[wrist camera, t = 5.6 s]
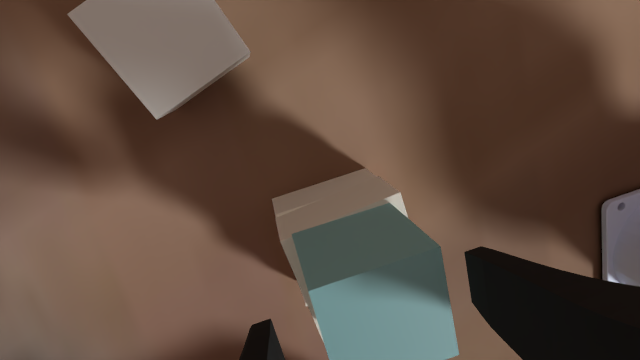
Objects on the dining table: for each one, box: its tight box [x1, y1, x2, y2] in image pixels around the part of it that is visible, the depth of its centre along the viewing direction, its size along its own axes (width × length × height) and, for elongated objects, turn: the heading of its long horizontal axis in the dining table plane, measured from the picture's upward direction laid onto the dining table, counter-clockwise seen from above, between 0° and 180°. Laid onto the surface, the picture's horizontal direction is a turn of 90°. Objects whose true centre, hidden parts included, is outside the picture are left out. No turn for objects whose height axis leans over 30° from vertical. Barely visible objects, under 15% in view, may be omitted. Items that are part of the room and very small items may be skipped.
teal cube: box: [292, 203, 459, 360], centre depth 13 cm, size 4×4×4 cm
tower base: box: [272, 168, 377, 306], centre depth 19 cm, size 5×5×2 cm
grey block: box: [67, 0, 250, 120], centre depth 14 cm, size 4×4×4 cm
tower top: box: [275, 176, 408, 340], centre depth 16 cm, size 5×5×2 cm
